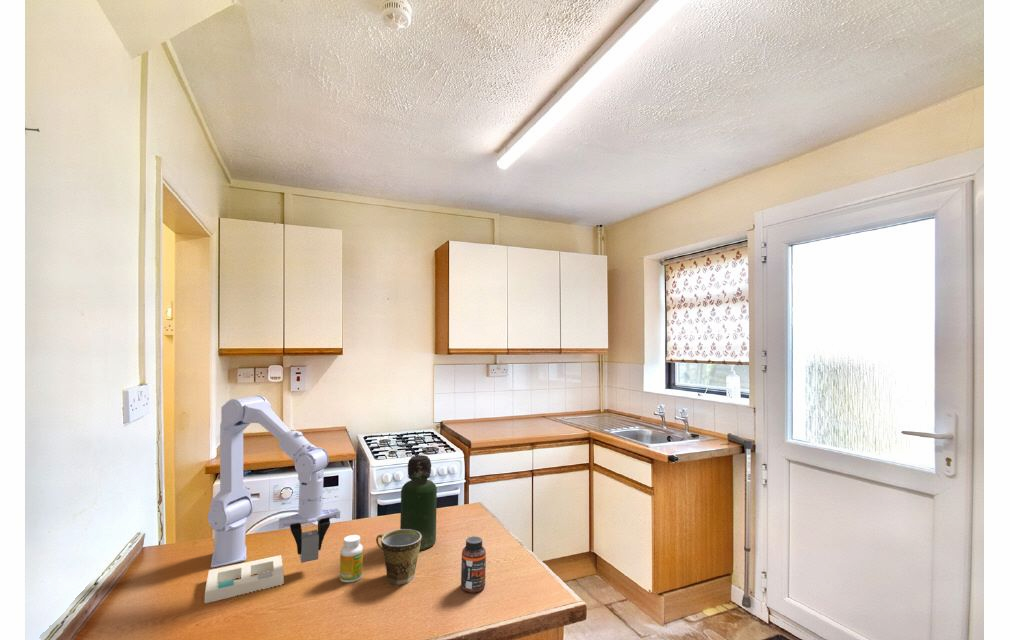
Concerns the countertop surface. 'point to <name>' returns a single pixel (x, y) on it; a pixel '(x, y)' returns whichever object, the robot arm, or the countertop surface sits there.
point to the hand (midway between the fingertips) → (309, 550)
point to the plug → (309, 546)
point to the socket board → (243, 578)
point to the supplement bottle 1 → (351, 559)
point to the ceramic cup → (400, 554)
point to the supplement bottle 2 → (473, 565)
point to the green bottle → (419, 501)
